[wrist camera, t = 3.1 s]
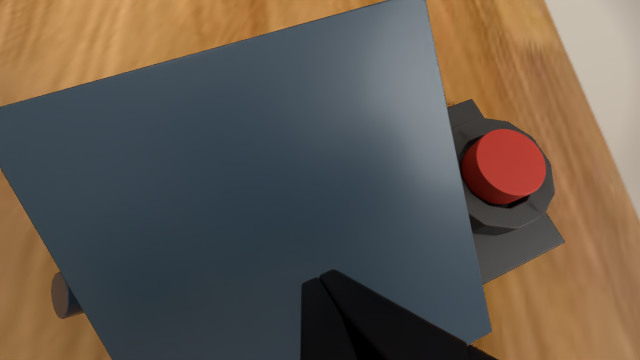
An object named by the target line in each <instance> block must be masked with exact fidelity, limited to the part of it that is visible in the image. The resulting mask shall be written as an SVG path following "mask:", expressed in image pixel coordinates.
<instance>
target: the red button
mask: <svg viewBox="0 0 640 360" xmlns="http://www.w3.org/2000/svg"><path fill="white" fill-rule="evenodd" d="M461 168H462V174H463V178H464V180H465V182H466V184H467V185H468V187H469V188H470V189H471V191H472V192H473V193H474V194H475V195H477V196H478V197H480V198H481V199H483V200H485V201H487V202H490V203H494V204H507V203H511V202H513V201H516V200H518V199H520V198H522V197H525V196H527V195H529V194H531V193H533V192H535V191H536V190H537V189H539V187H540V186H541V185H542V183H543V182H544V179H545V175H546V164H545V160H544V157H543V155H542V153H541V151H540V150H539V148H538V147H537V146H536V144H535V143H534V142H533V141H531V140H530V139H529V138H528V137H526V136H525V135H523V134H521V133H519V132H517V131H513V130H509V129H498V130H493V131H490V132H488V133H487V134H485V135H484V136H483V137H482V138H480V139H479V140H478V141H477V142H476V143H475V144H473V145H472V146H471V147H470V148H469V149H468V150H467V151H466V152H465V154H464V156H463V159H462V167H461Z"/></svg>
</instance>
